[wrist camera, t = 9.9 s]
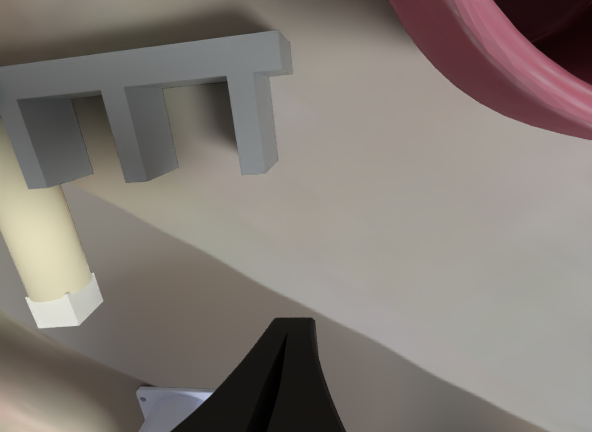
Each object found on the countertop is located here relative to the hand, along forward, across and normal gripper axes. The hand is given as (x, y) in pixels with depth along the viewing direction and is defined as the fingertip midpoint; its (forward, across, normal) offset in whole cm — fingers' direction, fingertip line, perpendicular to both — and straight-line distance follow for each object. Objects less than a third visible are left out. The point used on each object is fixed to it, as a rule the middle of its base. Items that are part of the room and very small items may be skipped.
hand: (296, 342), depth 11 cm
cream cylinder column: (+10, +18, -2) cm, 20 cm away
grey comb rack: (+10, +12, -8) cm, 17 cm away
